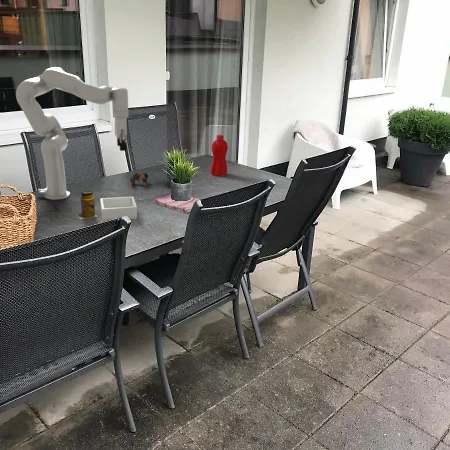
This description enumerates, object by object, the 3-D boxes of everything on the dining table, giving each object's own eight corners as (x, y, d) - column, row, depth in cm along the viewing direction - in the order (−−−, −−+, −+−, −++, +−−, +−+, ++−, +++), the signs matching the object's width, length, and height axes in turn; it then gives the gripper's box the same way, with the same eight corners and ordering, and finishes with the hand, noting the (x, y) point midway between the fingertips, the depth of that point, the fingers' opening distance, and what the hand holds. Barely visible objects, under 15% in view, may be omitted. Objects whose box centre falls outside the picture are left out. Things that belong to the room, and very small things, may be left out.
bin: (102, 221, 221) (102, 209, 218) (101, 209, 234) (100, 198, 232) (137, 218, 225) (136, 207, 223) (133, 207, 238) (133, 196, 236)
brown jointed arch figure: (143, 189, 266) (135, 177, 263) (132, 193, 272) (124, 181, 269) (154, 179, 275) (147, 167, 272) (143, 183, 280) (136, 171, 277)
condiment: (97, 216, 226) (96, 193, 221) (80, 219, 221) (78, 195, 217) (92, 211, 231) (91, 188, 227) (75, 214, 227) (73, 191, 222)
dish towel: (176, 195, 259) (176, 189, 257) (209, 206, 246) (209, 199, 245) (154, 204, 246) (154, 197, 245) (188, 215, 233) (188, 208, 232)
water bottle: (207, 175, 294) (208, 135, 284) (216, 171, 303) (217, 132, 293) (219, 178, 290) (220, 137, 280) (228, 174, 298) (230, 134, 289)
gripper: (110, 110, 238) (112, 144, 244) (115, 117, 223) (116, 152, 230) (125, 110, 240) (126, 143, 247) (131, 117, 225) (132, 152, 232)
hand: (121, 148), depth 238 cm, fingers open, 9 cm apart
